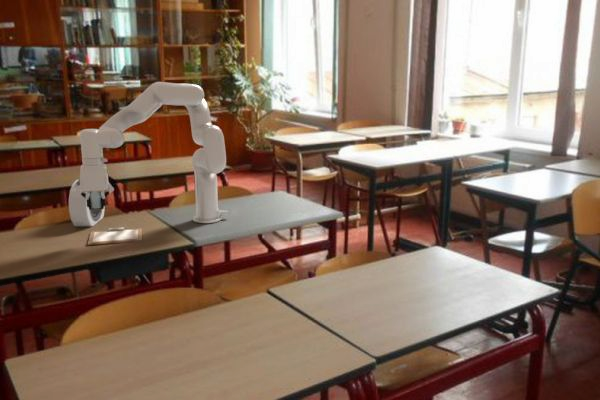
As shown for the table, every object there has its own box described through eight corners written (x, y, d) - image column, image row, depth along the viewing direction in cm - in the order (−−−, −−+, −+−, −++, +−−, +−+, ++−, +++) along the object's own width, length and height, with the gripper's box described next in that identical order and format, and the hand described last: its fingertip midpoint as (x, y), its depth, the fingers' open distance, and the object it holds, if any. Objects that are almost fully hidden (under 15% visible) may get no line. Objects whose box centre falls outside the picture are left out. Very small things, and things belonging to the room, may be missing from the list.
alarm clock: (88, 229, 239) (83, 183, 234) (71, 229, 239) (65, 183, 234) (106, 214, 259) (101, 172, 254) (90, 215, 260) (85, 172, 255)
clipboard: (141, 229, 239) (141, 226, 239) (141, 241, 224) (141, 237, 224) (91, 233, 234) (90, 229, 234) (87, 244, 219) (87, 241, 219)
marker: (102, 210, 223) (100, 185, 221) (102, 213, 219) (100, 187, 217) (91, 211, 222) (89, 186, 220) (90, 213, 218) (88, 188, 216)
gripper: (116, 159, 222) (119, 205, 226) (70, 160, 218) (74, 207, 222) (115, 162, 215) (118, 209, 219) (68, 164, 210) (72, 212, 215)
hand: (96, 208), depth 220 cm, fingers closed on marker, 3 cm apart
